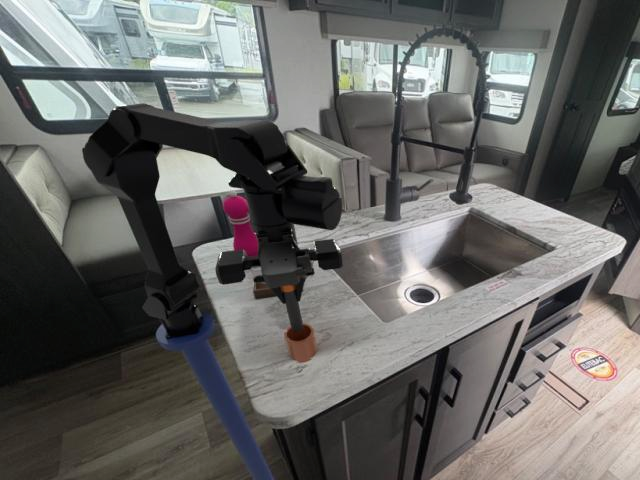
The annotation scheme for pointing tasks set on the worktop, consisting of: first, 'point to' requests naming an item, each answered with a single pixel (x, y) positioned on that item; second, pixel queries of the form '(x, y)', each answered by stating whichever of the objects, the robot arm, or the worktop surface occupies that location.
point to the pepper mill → (241, 224)
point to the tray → (262, 291)
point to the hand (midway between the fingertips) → (291, 301)
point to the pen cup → (301, 343)
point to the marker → (292, 307)
